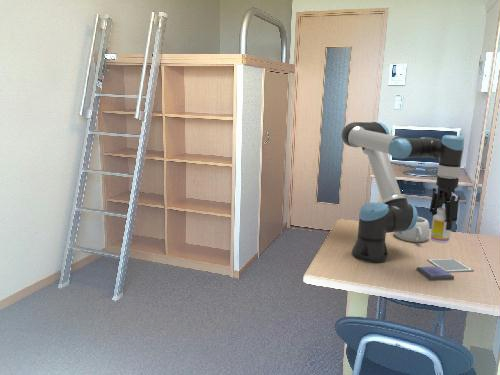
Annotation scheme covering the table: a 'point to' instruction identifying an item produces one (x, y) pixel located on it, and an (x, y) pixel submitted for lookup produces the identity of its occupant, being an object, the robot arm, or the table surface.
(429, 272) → the ink pad
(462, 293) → the table surface
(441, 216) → the supplement bottle
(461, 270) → the board
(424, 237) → the mug
